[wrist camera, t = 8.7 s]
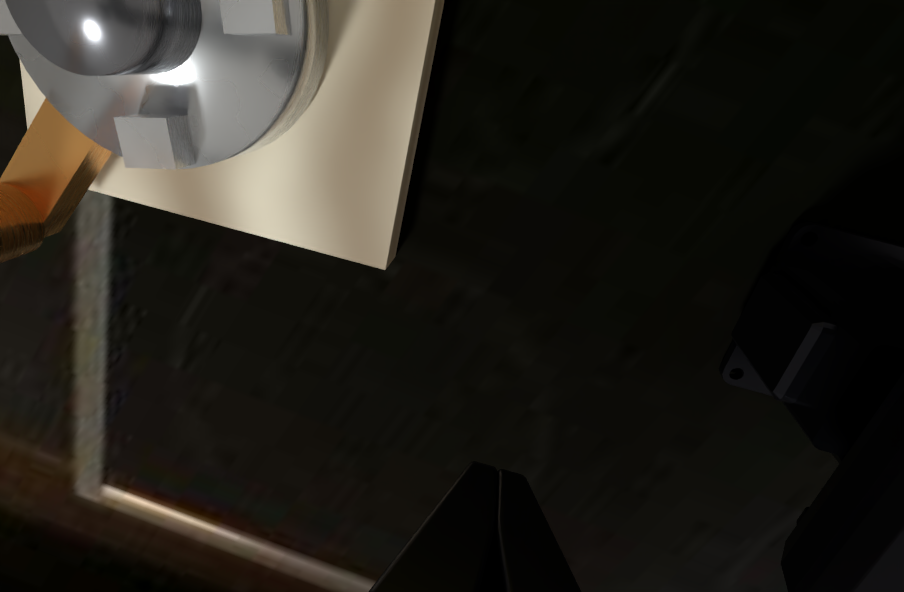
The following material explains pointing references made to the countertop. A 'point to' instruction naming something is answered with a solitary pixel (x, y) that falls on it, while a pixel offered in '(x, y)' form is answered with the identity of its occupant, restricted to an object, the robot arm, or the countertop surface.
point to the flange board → (316, 145)
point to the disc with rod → (149, 92)
